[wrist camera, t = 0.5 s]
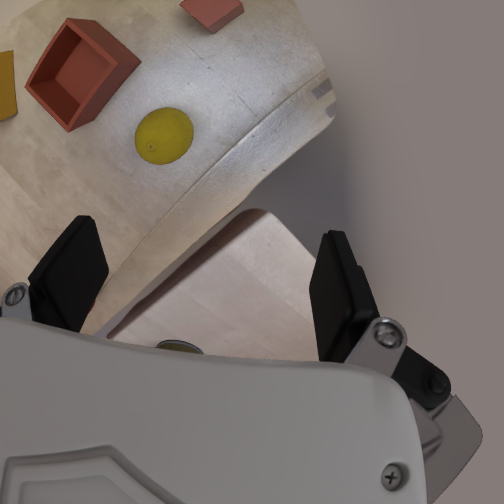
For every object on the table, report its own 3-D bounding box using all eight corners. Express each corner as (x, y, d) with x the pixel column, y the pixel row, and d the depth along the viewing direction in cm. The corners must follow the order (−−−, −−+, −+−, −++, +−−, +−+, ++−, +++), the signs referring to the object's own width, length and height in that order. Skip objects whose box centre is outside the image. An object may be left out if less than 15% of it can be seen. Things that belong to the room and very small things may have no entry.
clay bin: (95, 20, 18) (67, 17, 14) (142, 61, 22) (118, 63, 18) (52, 79, 22) (24, 87, 17) (94, 120, 26) (68, 133, 22)
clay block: (219, -12, 17) (213, -22, 14) (244, 11, 19) (242, 3, 16) (188, 11, 19) (178, 4, 16) (213, 34, 21) (206, 29, 18)
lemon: (205, 143, 29) (188, 169, 22) (159, 154, 29) (132, 182, 23) (194, 97, 25) (172, 108, 19) (147, 110, 26) (114, 126, 20)
